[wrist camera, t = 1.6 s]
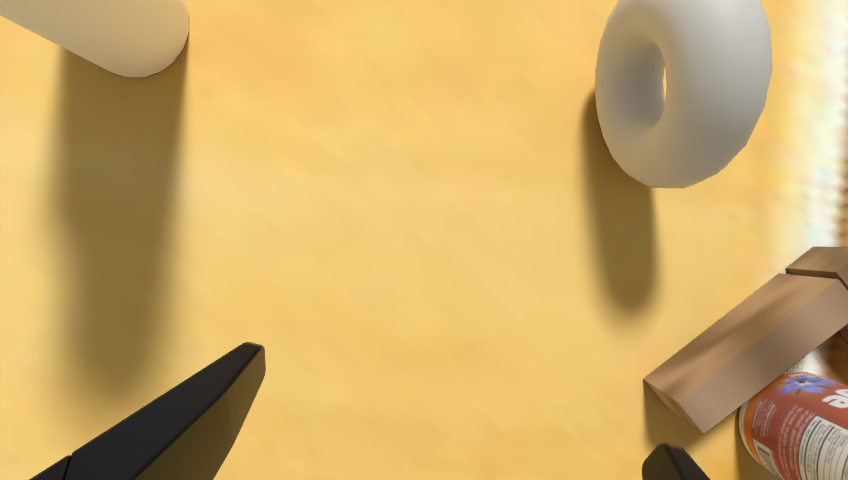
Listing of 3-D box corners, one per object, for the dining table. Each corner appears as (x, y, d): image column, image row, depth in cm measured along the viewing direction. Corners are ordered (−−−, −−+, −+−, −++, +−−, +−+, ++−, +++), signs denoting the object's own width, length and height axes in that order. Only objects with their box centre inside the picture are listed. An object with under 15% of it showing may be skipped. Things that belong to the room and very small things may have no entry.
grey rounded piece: (661, 193, 24) (822, 160, 14) (603, 203, 24) (721, 178, 14) (631, 27, 24) (770, -125, 14) (573, 38, 24) (670, -105, 14)
